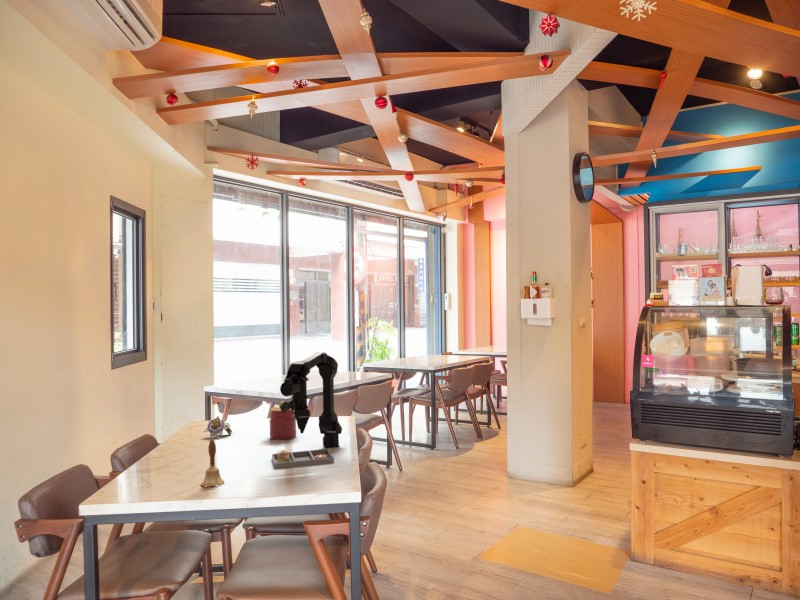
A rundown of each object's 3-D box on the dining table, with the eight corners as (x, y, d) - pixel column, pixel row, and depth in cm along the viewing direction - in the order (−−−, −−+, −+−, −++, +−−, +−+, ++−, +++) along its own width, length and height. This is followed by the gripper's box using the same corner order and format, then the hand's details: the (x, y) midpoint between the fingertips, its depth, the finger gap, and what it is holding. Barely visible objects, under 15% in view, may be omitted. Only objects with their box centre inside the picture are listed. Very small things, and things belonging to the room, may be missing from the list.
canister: (300, 434, 293) (299, 399, 293) (291, 440, 280) (290, 403, 281) (275, 434, 295) (274, 399, 296) (265, 440, 283) (264, 403, 283)
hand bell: (229, 481, 214) (228, 437, 214) (215, 488, 206) (213, 443, 206) (210, 480, 216) (209, 437, 217) (195, 486, 208) (194, 441, 209)
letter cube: (288, 460, 239) (288, 449, 239) (289, 463, 235) (289, 451, 235) (277, 461, 238) (277, 450, 238) (278, 464, 233) (278, 453, 234)
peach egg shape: (326, 456, 243) (326, 453, 244) (327, 459, 239) (327, 456, 239) (314, 458, 242) (314, 455, 242) (315, 460, 237) (315, 457, 237)
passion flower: (215, 448, 292) (200, 430, 289) (218, 440, 302) (203, 422, 299) (234, 435, 292) (219, 417, 289) (236, 427, 303) (221, 409, 300)
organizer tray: (327, 454, 249) (327, 448, 249) (334, 463, 234) (333, 457, 234) (272, 460, 243) (271, 454, 243) (274, 469, 227) (274, 463, 227)
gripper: (278, 391, 246) (279, 428, 246) (281, 397, 228) (282, 437, 228) (304, 389, 249) (305, 426, 249) (309, 395, 231) (310, 434, 231)
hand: (300, 431), depth 239 cm, fingers open, 9 cm apart
